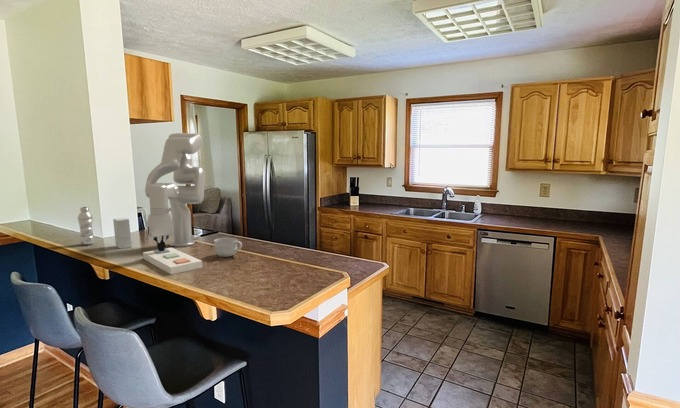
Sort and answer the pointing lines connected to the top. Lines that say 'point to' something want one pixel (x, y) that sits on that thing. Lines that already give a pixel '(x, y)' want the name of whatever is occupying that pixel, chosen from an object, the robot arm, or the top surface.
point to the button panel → (169, 264)
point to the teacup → (226, 246)
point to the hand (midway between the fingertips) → (161, 250)
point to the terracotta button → (181, 261)
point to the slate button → (161, 251)
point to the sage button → (170, 256)
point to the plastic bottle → (86, 226)
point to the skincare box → (122, 233)
